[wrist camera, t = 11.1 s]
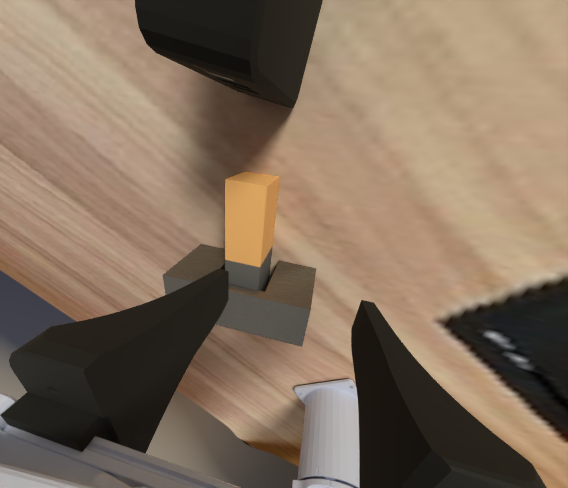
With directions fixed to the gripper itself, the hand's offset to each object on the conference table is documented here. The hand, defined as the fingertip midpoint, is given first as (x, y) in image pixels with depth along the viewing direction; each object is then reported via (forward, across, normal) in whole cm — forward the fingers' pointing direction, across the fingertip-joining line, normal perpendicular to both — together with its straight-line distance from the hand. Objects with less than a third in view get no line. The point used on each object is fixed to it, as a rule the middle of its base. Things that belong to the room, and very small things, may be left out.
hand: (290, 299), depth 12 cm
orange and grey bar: (+9, +5, +2) cm, 11 cm away
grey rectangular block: (+9, +5, +5) cm, 12 cm away
